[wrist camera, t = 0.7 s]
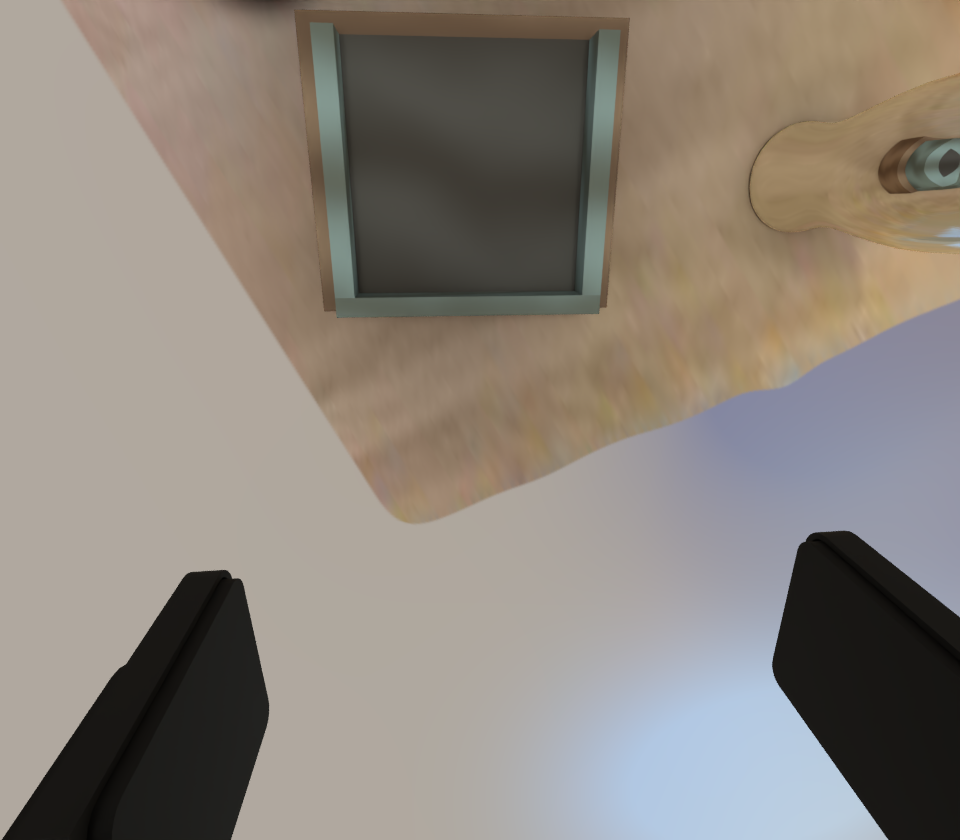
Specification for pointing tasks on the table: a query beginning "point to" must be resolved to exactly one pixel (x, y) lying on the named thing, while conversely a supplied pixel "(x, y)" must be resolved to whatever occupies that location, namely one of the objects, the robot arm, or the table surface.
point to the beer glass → (870, 173)
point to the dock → (462, 160)
